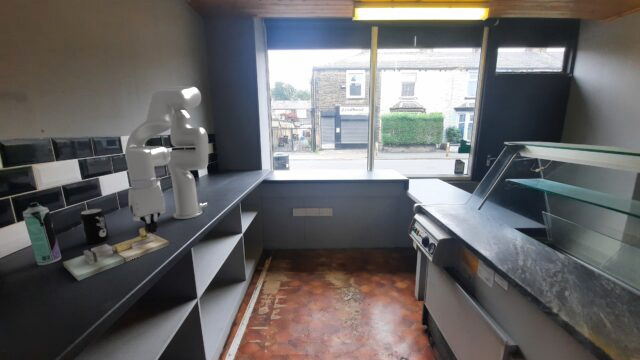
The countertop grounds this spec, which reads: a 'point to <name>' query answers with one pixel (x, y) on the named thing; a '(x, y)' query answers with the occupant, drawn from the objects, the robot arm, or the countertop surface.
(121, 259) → the latch board
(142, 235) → the bolt
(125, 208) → the countertop surface
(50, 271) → the countertop surface
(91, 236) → the beverage can
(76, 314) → the countertop surface
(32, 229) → the spray can
